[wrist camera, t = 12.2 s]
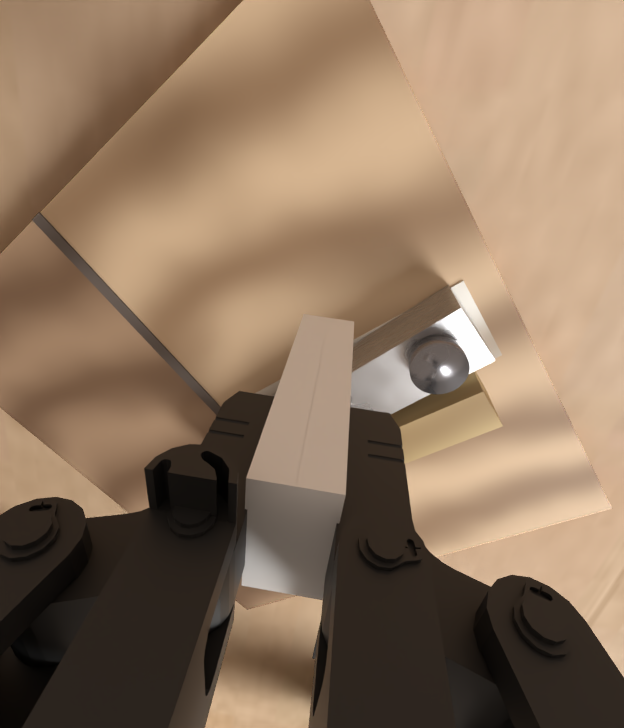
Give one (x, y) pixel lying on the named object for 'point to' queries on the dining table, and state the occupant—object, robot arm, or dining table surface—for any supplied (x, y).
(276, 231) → the door board
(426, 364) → the bar
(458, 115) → the dining table surface
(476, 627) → the robot arm
